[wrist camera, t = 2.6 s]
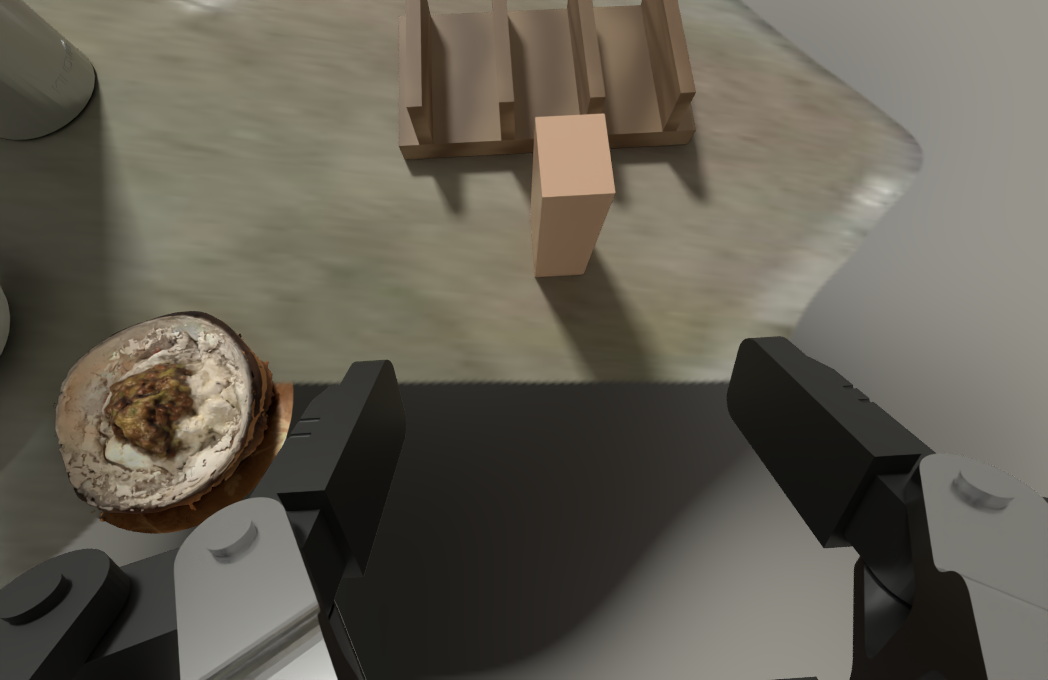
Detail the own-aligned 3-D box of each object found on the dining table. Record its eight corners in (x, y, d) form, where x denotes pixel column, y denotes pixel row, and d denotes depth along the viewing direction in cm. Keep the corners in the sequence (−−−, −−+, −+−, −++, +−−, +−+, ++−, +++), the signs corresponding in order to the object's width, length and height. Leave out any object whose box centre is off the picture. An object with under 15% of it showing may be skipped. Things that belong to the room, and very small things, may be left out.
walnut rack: (404, 159, 31) (382, 108, 26) (404, 34, 34) (384, -34, 29) (687, 144, 32) (718, 90, 27) (664, 22, 34) (688, -47, 29)
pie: (69, 327, 28) (-7, 309, 24) (285, 285, 29) (248, 261, 25) (59, 554, 25) (-30, 577, 21) (304, 498, 26) (264, 510, 22)
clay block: (534, 277, 29) (542, 197, 19) (530, 220, 30) (535, 117, 20) (583, 274, 29) (615, 193, 19) (577, 217, 30) (604, 113, 20)
